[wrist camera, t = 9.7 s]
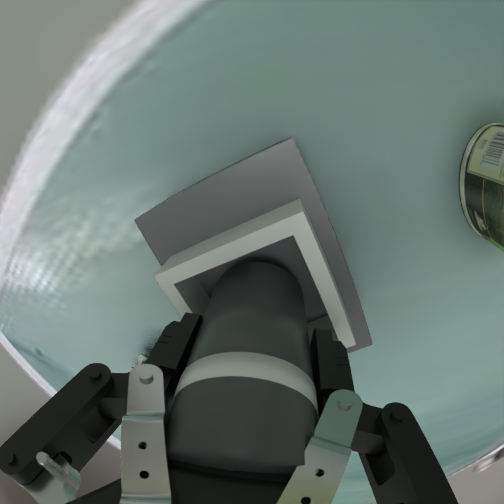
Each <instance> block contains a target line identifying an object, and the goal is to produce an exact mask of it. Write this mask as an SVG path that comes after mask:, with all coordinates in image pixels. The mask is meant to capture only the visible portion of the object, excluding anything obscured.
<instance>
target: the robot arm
mask: <svg viewBox="0 0 504 504" xmlns="http://www.w3.org/2000/svg"><path fill="white" fill-rule="evenodd" d="M201 322H202V315H201V314H195V313H188V312H185V314H184V315H183V317H182V319H181V321H180V322H177V321H173V322H171V323H170V324H169V325H167V326H166V327H165V329H164V330H163V332H162V334H161V336H160V337H159V339H158V342H157V343H156V344H155V346H154V348H153V350H152V352H151V353H150V355H149V357H148V359H147V361H146V362H145V364H142V365H139V366H137V367H135V368H134V369H133V370H132V371H131V372H130V373H111V371H110V369H109V368H108V367H107V366H106V365H104V364H101V363H93V364H90V365H88V366H86V367H85V368H84V369H82V370H81V371H80V372H79V373H78V374H77V375H76V376H75V377H74V378H73V379H71V380H70V381H69V382H68V383H67V384H66V385H65V386H64V387H63V388H62V389H61V390H60V391H58V392H57V393H56V394H55V395H54V396H53V397H52V398H51V399H50V400H49V401H48V402H47V403H46V404H45V405H44V406H42V407H41V408H40V409H39V410H38V411H37V412H36V413H35V414H34V415H33V416H32V417H31V418H30V419H29V420H28V421H27V422H26V423H25V424H23V425H22V426H21V427H20V428H19V429H18V430H17V431H16V432H15V433H14V434H13V435H12V436H11V437H10V438H9V439H8V440H7V441H6V442H5V443H4V444H3V445H2V446H1V447H0V469H1V470H2V471H3V472H4V473H6V474H7V475H8V476H10V477H11V478H12V479H13V480H14V481H15V482H16V483H17V484H19V485H20V486H22V487H23V488H24V489H26V490H27V491H28V492H29V493H30V494H31V495H32V497H33V498H34V499H35V500H36V501H37V502H38V503H39V504H331V503H332V500H333V498H334V496H335V493H336V491H337V489H338V486H339V484H340V481H341V479H342V476H343V474H344V471H345V468H346V466H347V463H348V460H349V457H350V454H351V451H356V452H358V453H359V456H360V459H361V461H362V464H363V467H364V469H365V472H366V475H367V477H368V480H369V483H370V485H371V488H372V491H373V494H374V496H375V499H376V502H377V504H458V502H457V499H456V497H455V495H454V493H453V491H452V489H451V487H450V485H449V483H448V481H447V478H446V476H445V474H444V472H443V470H442V468H441V466H440V464H439V462H438V460H437V458H436V456H435V455H434V453H433V451H432V449H431V447H430V445H429V443H428V441H427V439H426V437H425V436H424V434H423V432H422V430H421V428H420V426H419V425H418V423H417V421H416V419H415V417H414V415H413V414H412V412H411V410H410V409H409V408H408V407H407V406H405V405H404V404H401V403H396V402H395V403H389V404H387V405H386V406H385V407H384V408H383V409H382V408H378V407H374V406H370V405H367V404H365V403H363V402H362V400H361V398H360V397H359V395H358V394H356V393H355V391H354V385H353V380H352V374H351V369H350V366H349V365H350V364H349V359H348V354H347V349H346V347H345V346H344V345H343V343H342V342H341V341H333V338H332V332H331V329H320V328H314V331H313V335H312V339H311V343H310V351H311V360H312V369H313V378H314V385H315V388H316V394H317V404H318V414H319V418H318V424H317V426H316V428H315V430H314V431H315V435H314V436H312V437H311V439H310V441H309V444H308V446H307V448H306V450H305V465H298V466H297V468H296V469H295V471H294V473H293V475H292V477H291V478H289V477H288V474H277V473H258V472H246V471H227V470H224V469H220V468H213V467H207V466H201V465H195V464H190V463H185V462H180V461H175V460H173V461H169V456H168V454H167V447H166V431H167V419H168V416H169V413H170V411H171V408H172V401H173V397H174V394H175V391H176V388H177V386H178V383H179V380H180V377H181V375H182V373H183V372H184V370H185V367H186V364H187V361H188V358H189V356H190V353H191V350H192V347H193V344H194V342H195V339H196V336H197V333H198V330H199V328H200V325H201ZM121 423H122V426H121V478H120V479H118V480H116V481H114V482H112V483H110V484H108V485H106V486H104V487H101V488H99V489H97V490H95V491H93V492H91V493H89V494H86V495H84V496H82V497H79V498H77V499H76V491H77V490H78V489H79V487H80V475H79V472H80V470H81V469H82V468H83V467H84V466H85V465H86V464H87V462H88V461H89V460H90V459H91V458H92V457H93V455H94V454H95V453H96V452H97V451H98V450H99V449H100V447H101V446H102V445H103V444H104V443H105V442H106V440H107V439H108V438H109V437H110V436H111V435H112V433H113V432H114V431H115V430H116V429H117V428H118V426H119V425H120V424H121ZM317 476H318V477H317Z"/></svg>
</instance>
